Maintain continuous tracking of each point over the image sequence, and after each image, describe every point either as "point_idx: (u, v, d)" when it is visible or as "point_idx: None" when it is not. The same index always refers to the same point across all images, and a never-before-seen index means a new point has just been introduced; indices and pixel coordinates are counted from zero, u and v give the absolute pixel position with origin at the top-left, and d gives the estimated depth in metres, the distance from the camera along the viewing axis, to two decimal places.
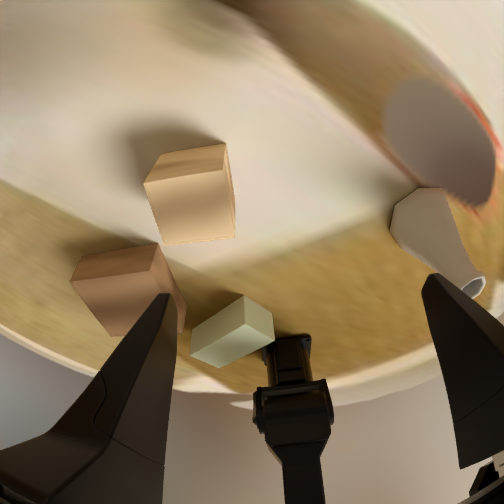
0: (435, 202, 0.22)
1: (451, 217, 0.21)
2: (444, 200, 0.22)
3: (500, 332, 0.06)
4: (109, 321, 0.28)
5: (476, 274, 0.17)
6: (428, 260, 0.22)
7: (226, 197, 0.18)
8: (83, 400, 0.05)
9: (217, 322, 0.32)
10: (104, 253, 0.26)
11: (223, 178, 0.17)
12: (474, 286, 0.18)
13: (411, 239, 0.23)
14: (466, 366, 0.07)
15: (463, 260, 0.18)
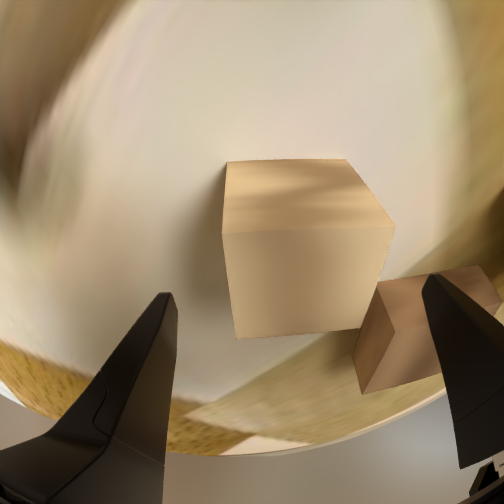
0: None
1: None
2: None
3: (500, 332, 0.06)
4: (435, 369, 0.18)
5: None
6: None
7: (291, 231, 0.08)
8: (83, 400, 0.05)
9: None
10: (358, 338, 0.20)
11: (243, 232, 0.08)
12: None
13: None
14: (466, 366, 0.07)
15: None
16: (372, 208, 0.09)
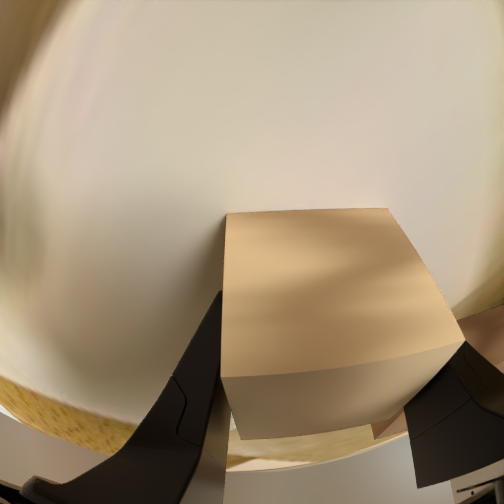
0: None
1: None
2: None
3: None
4: None
5: None
6: None
7: (329, 370, 0.05)
8: (159, 410, 0.05)
9: None
10: None
11: (254, 374, 0.05)
12: None
13: None
14: None
15: None
16: (435, 308, 0.05)
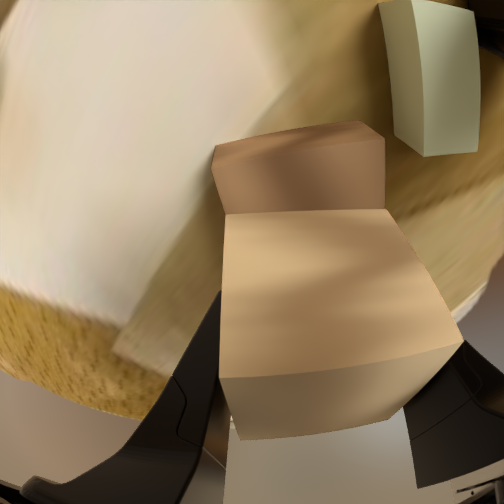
0: None
1: None
2: None
3: None
4: None
5: None
6: None
7: (327, 371, 0.05)
8: (159, 410, 0.05)
9: (399, 67, 0.12)
10: None
11: (252, 375, 0.05)
12: None
13: None
14: None
15: None
16: (434, 309, 0.05)
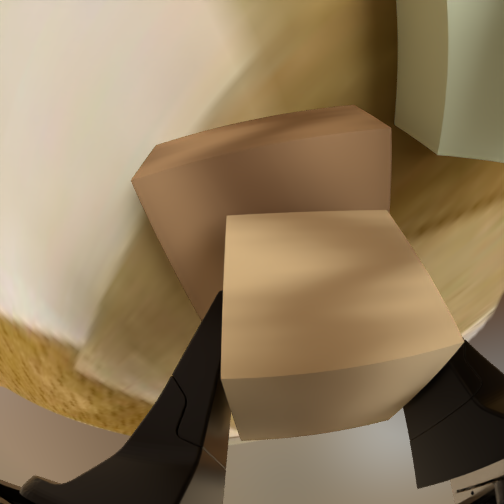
0: None
1: None
2: None
3: None
4: None
5: None
6: None
7: (328, 372, 0.05)
8: (159, 410, 0.05)
9: (412, 30, 0.08)
10: None
11: (254, 376, 0.05)
12: None
13: None
14: None
15: None
16: (434, 310, 0.05)
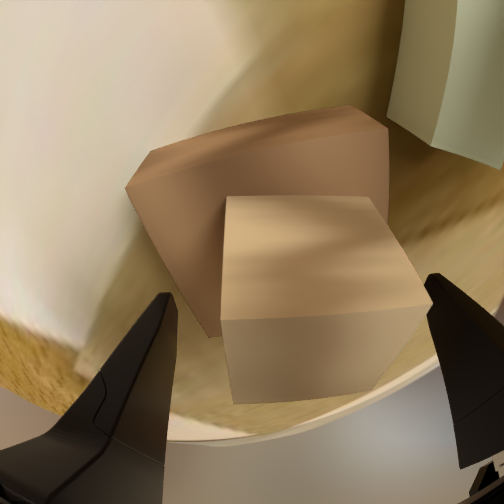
0: None
1: None
2: None
3: (500, 332, 0.06)
4: None
5: None
6: None
7: (311, 318, 0.06)
8: (83, 400, 0.05)
9: (418, 23, 0.07)
10: None
11: (248, 318, 0.06)
12: None
13: None
14: (466, 366, 0.07)
15: None
16: (406, 276, 0.07)
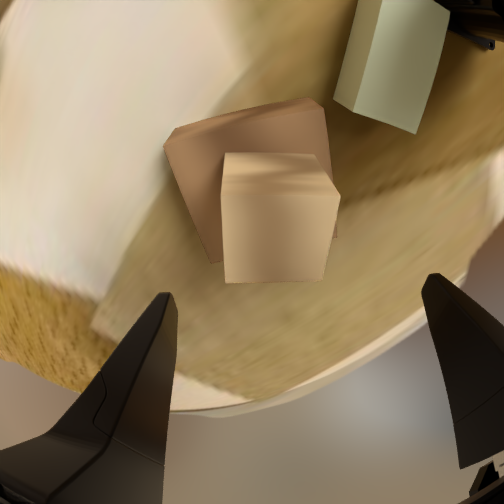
0: None
1: None
2: None
3: (500, 332, 0.06)
4: None
5: None
6: None
7: (267, 196, 0.12)
8: (83, 400, 0.05)
9: (357, 35, 0.13)
10: None
11: (234, 195, 0.12)
12: None
13: None
14: (466, 366, 0.07)
15: None
16: (325, 185, 0.13)
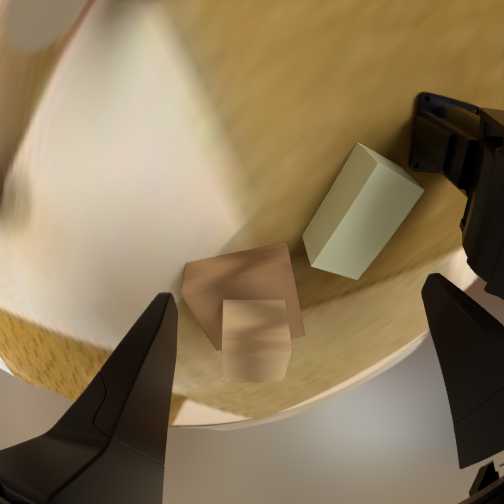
0: None
1: None
2: None
3: (500, 332, 0.06)
4: None
5: None
6: None
7: (248, 353, 0.20)
8: (83, 400, 0.05)
9: (335, 197, 0.20)
10: None
11: (230, 352, 0.20)
12: None
13: None
14: (466, 366, 0.07)
15: None
16: (285, 341, 0.21)
